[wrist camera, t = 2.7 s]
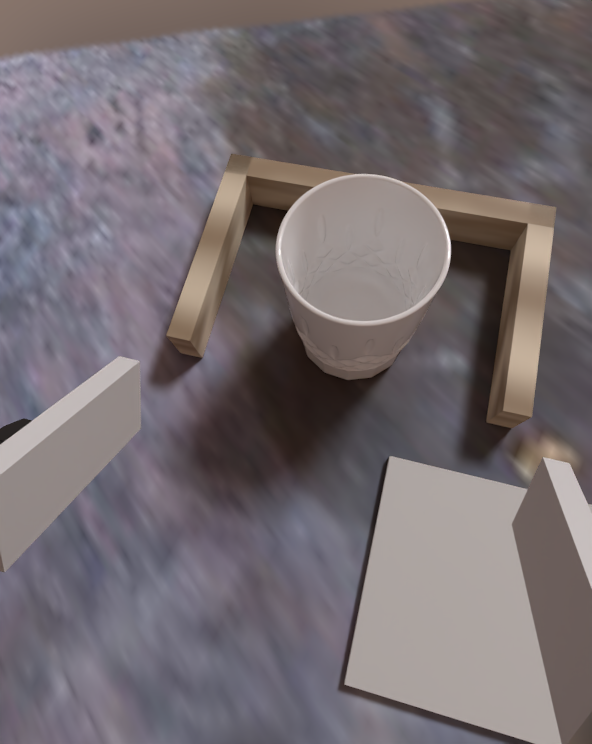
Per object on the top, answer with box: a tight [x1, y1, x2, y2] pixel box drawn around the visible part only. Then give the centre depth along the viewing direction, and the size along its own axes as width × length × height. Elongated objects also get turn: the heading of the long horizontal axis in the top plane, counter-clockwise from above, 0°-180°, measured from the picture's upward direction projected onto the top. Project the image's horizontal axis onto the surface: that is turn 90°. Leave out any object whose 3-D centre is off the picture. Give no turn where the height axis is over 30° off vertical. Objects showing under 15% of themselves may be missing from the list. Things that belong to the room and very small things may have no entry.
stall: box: [166, 154, 556, 428], centre depth 31 cm, size 14×21×3 cm, turn 76°
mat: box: [344, 456, 592, 744], centre depth 26 cm, size 12×12×1 cm
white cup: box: [276, 174, 451, 380], centre depth 27 cm, size 8×8×10 cm
